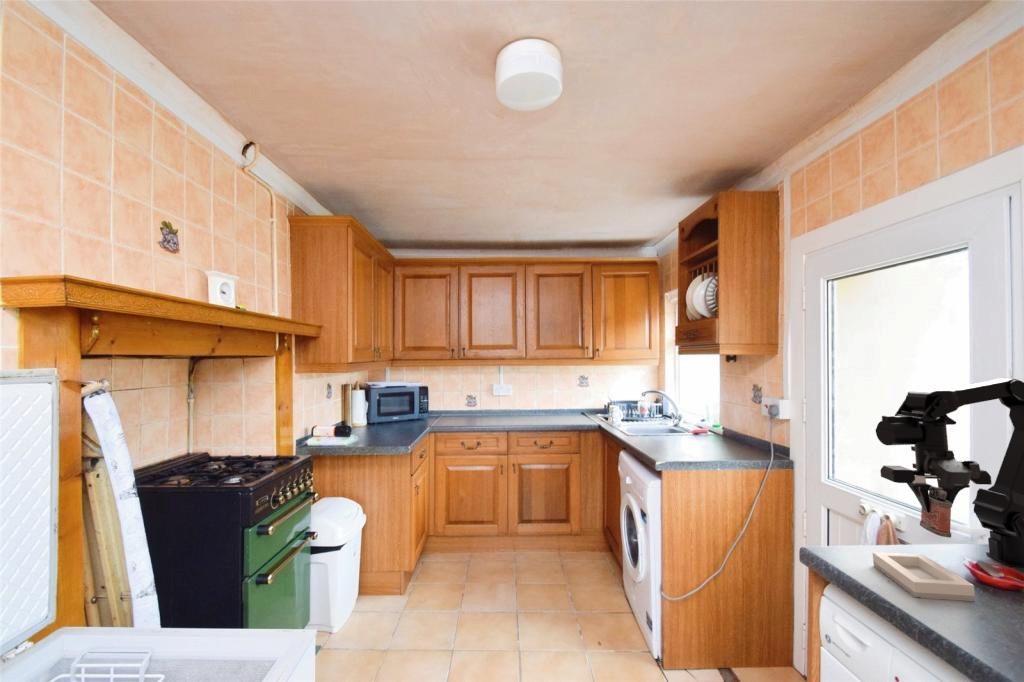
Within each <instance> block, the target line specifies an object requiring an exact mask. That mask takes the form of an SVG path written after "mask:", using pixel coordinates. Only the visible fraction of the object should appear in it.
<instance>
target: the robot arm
mask: <svg viewBox="0 0 1024 682" xmlns="http://www.w3.org/2000/svg"><path fill="white" fill-rule="evenodd" d="M993 400H994V401H995V400H999V402H1000V404H1001V405H1003V406H1004V407H1006V408H1008V409H1009V414H1008V417H1009V419H1010V421H1011V424H1012V426H1013V431H1012V434H1011V436H1010V439H1009V442H1008V445H1007V448H1006V451H1005V454H1004V456H1003V460H1002V461H1001V465H1000V468H999V470H998V473H997V476H996V478H995V481H994V484H993V485H992V483H993V482H992V476H991V475H990V473H989V472H988V471H987V470H984V469H981V467H980V463H978V462H977V461H975V460H964V461H962V460H961V461H960V460H957V459H956V458H955V453H954V451H953V450H951V449H949V443H948V442H949V441H948V430H947V425H951V426H952V425H957V421H955V420H954V419H952V418H951V417H949V416H948V414H950V413H951V414H952V413H953V412H956V411H957V410H959V408H960V407H962V406H967V405H973V404H976V403H977V404H978V403H982V402H987V401H993ZM875 435H876V436H877V437H876V438H877V440H879V442H880V443H881V444H882V445H884V446H908V445H909V446H910V451H912V452H914V456H915V463H912V468H913V469H910V468H907V467H904V466H901V465H882V467H881V469H880V470H879V472H880V477H882V478H884V480H885V479H886V480H888V481H891V482H893V483H898V484H907V486H908V487H909V489H910V490H911V492H913V495H914V496H915V497H916V499H917V501H918V502H919V504H920V506H921V508H922V507H923V509H924V511H925V512H927V513H930V503H929V491H928V490H929V488H930V487H931V485H932V484H930V483H928V482H927V481H926V479H930V480H931V479H933V480H935V479H936V480H937V481H936V482H937V487H939V488H942V489H943V491H945V492H946V500H948V501H950V502H951V503H952V505H953V504H954V502H955V500H956V498H957V495H958V494H959V493H960V492H961V491H962V490H964V489H967V488H970V487H971V485H970V483H971V482H972V483H973V484H975V485H989V486H990V485H992V486H991V487H989V488H988V489H985V488H981V487H980V488H978V489H977V491H976V496H975V499H973V501H972V503H971V504H972V505H973V513H974V514H975V515H976V517H977V519H978V521H979V523H980V525H981V527H982V528H984V529H988V530H989V537H988V551H989V552H985V555H986V556H988V557H990V558H992V559H994V560H996V561H997V562H1000V563H1002V564H1003V565H1005V566H1008V567H1010V568H1011V567H1015V568H1024V381H1022V380H1019V379H1018V378H1017V379H1016V378H994V379H992V380H987V381H982V382H978V383H973V384H967V385H962V386H957V387H951V388H944V389H943V388H940V389H939V388H938V389H936V388H935V389H934V388H923V389H922V388H921V389H920V388H918V389H916V388H915V389H911V390H909V391H908V392H907V394H906V397H905V399H904V400H903V402H902V403H901V405H900V406H899V407H898V409H897V411H896V412H895V414H894V415H882V416H881V420H880V421H879V422H878V423H877V425H876V428H875Z"/></svg>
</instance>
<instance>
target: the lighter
mask: <svg viewBox="0 0 1024 682" xmlns="http://www.w3.org/2000/svg"><path fill="white" fill-rule="evenodd" d="M930 485H931V487H930V488H929V490H928V494H929V503H930V513H927V512H925V511H924V509H923V507H922V506H921V509H920V510H921V512H920V514H921V515H920V521H919V526H920V527H921V528H923V529H924V530H926V531H928V532H930V533H933V534H934V535H937V536H940V537H941V538H942V537H943V538H950V539H951V538H952V532H951V517H952V516H951V514H952V508H953V504H952V503H951V502H950V501H948V500H946V492H945V491H943V489H942V488H939V487H938V486H935V485H932V484H930Z"/></svg>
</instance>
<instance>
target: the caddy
mask: <svg viewBox="0 0 1024 682" xmlns="http://www.w3.org/2000/svg"><path fill="white" fill-rule="evenodd" d="M872 560H873V567H875V568H876V569H877V570H879V571H880V570H881V571H882V572H881V571H880V572H881V573H883V574H884V573H885V574H886V575H885V574H884V575H885V576H886V577H888V576H889V577H890V578H889V577H888V578H889V579H890V580H891V581H893V580H894V581H895V582H894V581H893V582H894V583H896V584H897V583H898V584H899V585H898V584H897V585H898V586H900V587H901V588H902V587H903V588H902V589H903V590H905V591H906V592H907V591H908V592H907V593H909V594H910V595H911V596H913V597H914V598H917V597H921V599H932V600H933V599H934V600H953V601H967V602H975V601H976V595H975V585H974V584H972V583H971V582H969V581H967V580H966V579H965V578H962V577H961V576H959V575H957V573H954V572H952V571H951V570H949V569H948V568H946V567H945V566H943V565H941V564H940V563H938V562H937V561H935V560H933V559H932V558H930V557H928V556H927V555H925V554H919V553H917V554H916V553H895V552H894V553H893V552H880V551H879V552H876V551H875V552H874V551H873V552H872Z"/></svg>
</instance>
